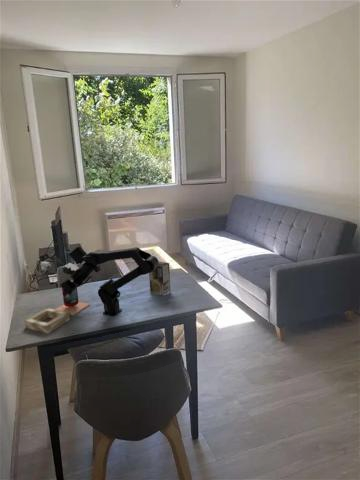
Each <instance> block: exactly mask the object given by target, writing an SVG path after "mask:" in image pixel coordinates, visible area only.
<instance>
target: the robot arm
mask: <svg viewBox="0 0 360 480" xmlns="http://www.w3.org/2000/svg"><path fill="white" fill-rule="evenodd" d="M68 257H70V259H71V260H72V261H73V262H74V263H75V264H73V263H72V262H68V263H67V264H65V265H64V267H63V268H62V272H63V273H64V274H66V275H69V277H70V278H71V279H72V280H73V282H71V281H70V280H69V279H65V280H63V281H64V282H63V281H62V282H61V283H60V287H61V289H62V288H63V289H64V291H63V293H62V296H63V295H67V294H71V293H73V292H74V291H75V290H76V286H77V288H79V287H81V286H84V285H85V284H86V283H88V282H89V281H90V280H91V279H92V278H93V276H92V274H93V272H95V273H99V272H100V271H101V270H102V268H101V264H104V263H107V262H109V261H117V260H125V259H127V260H128V259H132V260H133V261H134V262H135V263H136V265H137V267H135V268H133V269H132V270H130V271H129V272H127V273H125V274H124V275H122V276H121V277H119V278H117V279H115V280H113V278H110V279H108V281H105V282H104V283H103V284H101V285H100V286H99V288H98V290H97V294H98V296H99V298H100V300H101V303H102V304H103V312H102V314H103V315H106V316H112V317H114V316H116V315H118V314H119V313H120V312H122V310H123V309H122V308H120V300H119V298H120V297H121V292H120V291H119V289H120V288H122V287H124V286H125V285H127V284H129V283H130V282H131V281H133V280H134V281H135V279H137V278H139V277H141V276H145V275H149V273H151V272H152V271H153V270H154V269H155V268H156V267H157V266H158V264H159V262H160V261H159V259H158V258H157V256H155V255H152V254H150V253H149V252H147V251H145V250H142V249H141V248H139V247H137V246H134V247H130V248H123V249H115V250H108V249H96V250H95V251H91V252H89V253H87V252H86V251H85V250H84V249H83V248H82V247H81V246H80V245H78V246H76V247H75V249H73V250H72V251H71V252H69V253H68ZM76 264H77V265H76ZM78 265H81V266H80V267H79V266H78ZM75 283H76V284H75Z"/></svg>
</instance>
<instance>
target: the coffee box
mask: <svg viewBox="0 0 360 480" xmlns="http://www.w3.org/2000/svg"><path fill="white" fill-rule="evenodd" d="M170 273H171V272H170V263H169V262H166V261H165V262H164V261H159V264H158V266H157V267H156V268H155V269H154V270H153V271H152V272H151V273H148V276H149V279H148V280H149V293H150V294H151V293H155V294H154V295H156V294H160V295H159V296H161V295H165V294H167V293H168V292H170V291H171V278H170V277H171V275H170ZM170 293H171V292H170ZM167 295H168V294H167Z"/></svg>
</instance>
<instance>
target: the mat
mask: <svg viewBox="0 0 360 480" xmlns="http://www.w3.org/2000/svg"><path fill="white" fill-rule="evenodd" d="M89 306H91V305H90V303H86V302H82V301H79V303H78V304H77V305H76V306H73V307H67V306H65V305H64V303H63V304H61V305H60V306H58V307H57V308H55V309H54V310H59V311H63V312H68V313H69V316H71V317H73V316H75V315H77V314H78V313H80V312H82V311H83V310H84V309H87V308H88V307H89Z"/></svg>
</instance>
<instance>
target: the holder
mask: <svg viewBox="0 0 360 480" xmlns="http://www.w3.org/2000/svg"><path fill="white" fill-rule="evenodd" d="M48 318H49V319H51V320H50V321H48V322H45V320H46V319H48ZM70 319H71V318H70V315H69V313H68V312H63V311H59V310H54V309H53V308H50V307H47V308H44V309H43V310H41V311H38V313H36V314H35V313H34V314H33V315H32V316H29V317H28V318H26V319H24V325H25V328H26V329H29V330H33V331H36V332H41V333H44V334H47V335H48V334H50V333H51V332H53V331H54V330H56V329H58V328H59V327H61V326H62V325H64V324H65V323H67V322H69V321H70Z"/></svg>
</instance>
